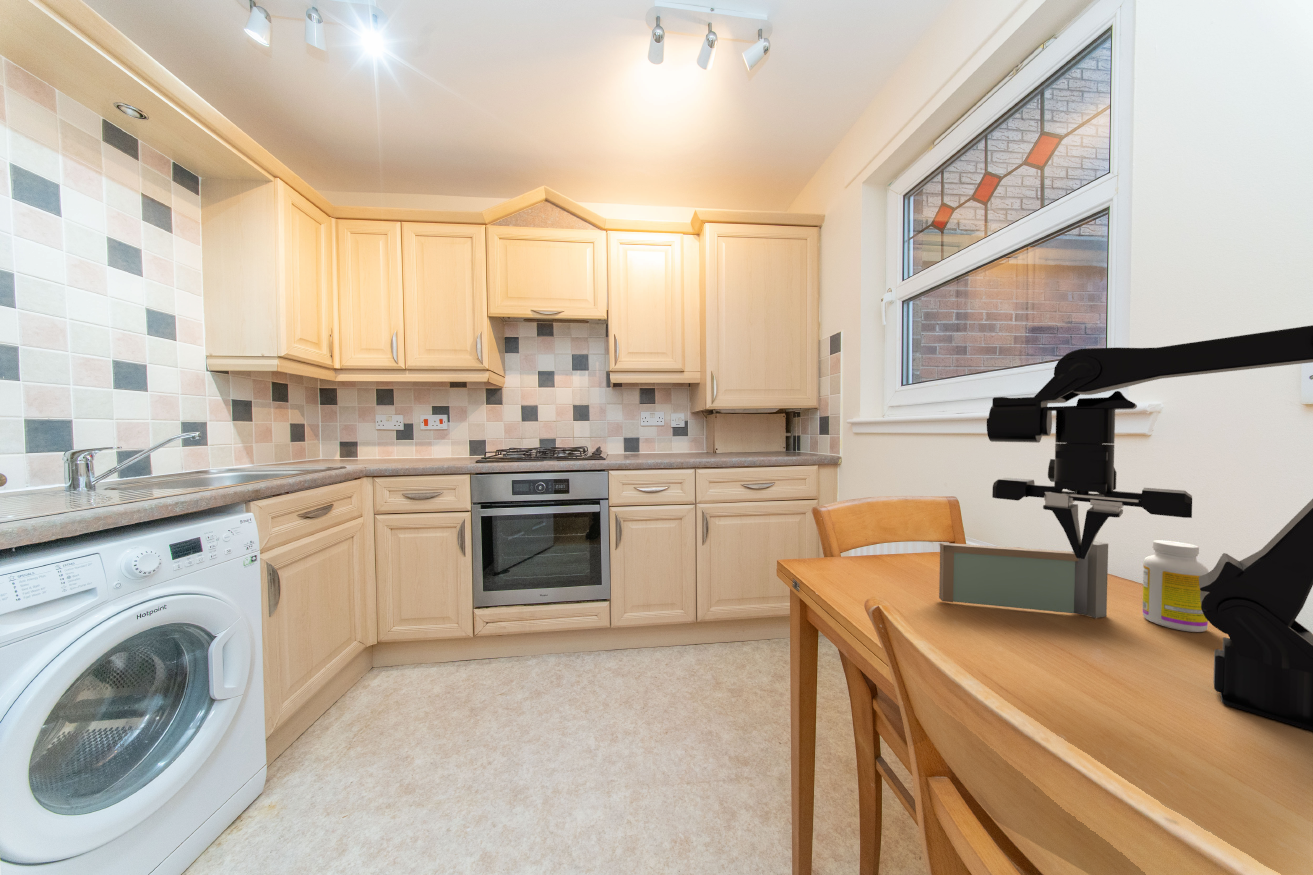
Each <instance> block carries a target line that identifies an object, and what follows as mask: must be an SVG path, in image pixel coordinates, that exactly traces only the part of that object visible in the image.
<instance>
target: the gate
mask: <svg viewBox="0 0 1313 875" xmlns="http://www.w3.org/2000/svg"><path fill="white" fill-rule="evenodd" d="M938 584H939V585H938V586H939V587H938V590H939V591H938V598H939V599H940V601H941V602H944V603H945V602H946V603H947V602H948V603H963V604H972V605H980V606H981V605H983V606H994V607H1005V608H1014V609H1015V608H1016V609H1023V610H1024V609H1025V610H1035V611H1044V612H1045V611H1047V612H1056V613H1066V614H1077V615H1083V616H1086V615H1087V585H1088V554H1087V556H1086V558H1085V559H1081V558H1080V559H1079V558H1076V556H1075V554H1074V551H1073V550H1072V551H1070V550H1055V549H1040V548H1039V549H1037V548H1026V547H1011V546H1008V547H1007V546H998V545H997V546H996V545H981V544H966V543H951V542H949V543H948V542H940V543H939V583H938Z"/></svg>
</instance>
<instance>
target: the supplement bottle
mask: <svg viewBox="0 0 1313 875" xmlns="http://www.w3.org/2000/svg"><path fill="white" fill-rule="evenodd" d="M1152 549H1153V551H1154V554H1152V555H1148V556H1146V557H1145V558H1144V559H1143V562H1142V563H1143V566H1142V568H1143V570H1142V572H1143V573H1142V576H1143V577H1142V616H1143V618H1144V619H1146V620H1147V621H1150V622H1151V623H1154V624H1156V625H1159V626H1163V627H1165V628H1168V629H1169V628H1170V629H1172V630H1178V631H1182V632H1192V633H1203V632H1206V630H1208V627H1209V626H1208V624H1209V621H1208V620H1207V619H1206V618H1205V616H1204V614H1203V612H1202V609H1201V600H1200V586H1199V576H1202V575H1205V574H1207V573H1209V572H1210V571H1209V569H1208V567H1207V566H1206V565H1205V564H1203V563H1201V562H1200V561H1198V560H1197V557H1198V555H1199V554H1200V547H1199V546H1198V545H1195V544H1192V543H1189V542H1188V543H1187V542H1181V541H1173V540H1164V539H1163V540H1162V539H1156V540H1153V541H1152Z"/></svg>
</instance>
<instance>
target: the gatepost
mask: <svg viewBox="0 0 1313 875" xmlns="http://www.w3.org/2000/svg"><path fill="white" fill-rule="evenodd" d="M1081 541H1082V539H1081ZM1108 563H1109V543H1107V542H1102V541H1095V540H1094V542H1093V544H1092V546H1091V548H1090V550H1089V552H1088V585H1087V615H1085V616H1087V617H1090V618H1093V619H1098V618H1105V617H1107V609H1108V605H1107V604H1108V575H1109V574H1108V573H1109V572H1108V571H1109V564H1108Z"/></svg>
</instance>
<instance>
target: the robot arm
mask: <svg viewBox="0 0 1313 875" xmlns="http://www.w3.org/2000/svg"><path fill="white" fill-rule="evenodd" d="M1310 363H1313V324H1312V325H1305V326H1299V327H1298V326H1297V327H1292V328H1283V329H1278V330H1269V331H1263V332H1256V333H1251V334H1250V333H1249V334H1241V335H1235V336H1228V337H1221V338H1215V339H1208V340H1202V341H1195V342H1187V343H1179V344H1171V345H1167V346H1165V345H1164V346H1160V347H1159V346H1157V347H1090V348H1089V347H1088V348H1079V349H1075V350H1072V351H1069V352H1067V353H1066V354H1065V355H1063V356H1062V357H1061V358H1060V359H1059V360H1058V361H1057V363H1056V364H1055V366H1054V370H1053V376H1052V377H1051V379H1050V380H1049V381H1048V382H1047V383H1045V385H1044V386H1043V387H1042V388H1041V389H1040V390H1039V391H1038V392H1037V393H1036V394H1035V395H1034V396H1030V397H1029V396H1025V397H1006V396H998V397H995V396H994V397H993V398H992V402H991V403H992V405H991V407H990V408H989V413H988V417H987V418H986V433H987V437H988V440H989V442H991V443H993V442H995V443H1031V444H1033V443H1036V444H1037V443H1038V444H1039V443H1040V442H1041V440H1042V438H1043V437H1049V436H1051V433H1052V427H1053V426H1052V425H1053V412H1055V436H1054V437H1055V438H1054V441H1055V444H1054V445H1055V446H1054V458H1050V459H1049V463H1048V467H1047V469H1048V470H1047V478H1048V480H1049V481H1050V482H1051V483H1053V485H1045V484H1036V483H1035V480H1034V479H1028V478H1013V477H1003V478H998V479H997V480H995V481H994V482H993V484H992V495H991V496H992V498H993V499H999V500H1010V501H1018V502H1019V501H1020V500H1022V499H1023V498H1028V497H1030V498H1041V499H1044V502H1045V503H1044V504H1043V506H1042V508H1043V510H1045V511H1051V512H1052V513H1053V514H1054V516H1055V518H1056V520H1057V521H1058V523H1059V524H1060V526H1061V528H1062V529H1063V531H1064V533H1065V536H1066V537H1067V539H1068V542H1069V545H1070V546H1071V550H1072V551H1074V554H1075V556H1076V558H1079V559H1080V558H1081V559H1085V558H1086V556H1087V554H1088V552H1089V550H1090V548H1091V546H1092V544H1093V542H1094V541H1095V540H1096V537H1097V535H1098V534H1099V531H1100V530H1101V529H1102V528H1103V526H1104V524H1105V523H1106V522H1107V520H1108V519H1109V518H1120V517H1121V516H1122V515H1123V512H1124V509H1123V508H1124V506H1126V507H1136V508H1142V509H1143V510H1145V511H1146V512H1147V513H1148V514H1150V515H1155V516H1157V515H1158V516H1165V517H1176V518H1183V519H1186V518H1187V519H1192V518H1193V495H1192V494H1190V493H1189V492H1188V491H1186V490H1182V489H1169V488H1167V489H1166V488H1156V487H1154V488H1151V487H1143V489H1142V490H1141V492H1133V491H1132V492H1131V491H1120V490H1119V491H1118V490H1117V476H1118V475H1117V470H1116V468H1115V441H1116V440H1115V439H1116V438H1115V434H1116V428H1115V427H1116V411H1121V410H1122V411H1123V410H1125V411H1126V410H1127V411H1128V410H1129V411H1130V410H1136V409H1137V408H1138V404H1137V403H1135V402H1133V401H1131V400H1129V399H1128V398H1126V396H1125V395H1124V393H1122V392H1121V391H1119V389H1123V388H1127V387H1128V388H1129V387H1131V386H1136V385H1140V384H1143V383H1146V382H1147V383H1148V382H1151V381H1158V380H1160V379H1161V380H1162V379H1169V378H1178V377H1187V376H1188V377H1189V376H1196V375H1197V376H1198V375H1207V374H1218V373H1227V372H1235V371H1245V370H1254V369H1263V368H1264V369H1265V368H1273V367H1275V368H1276V367H1282V366H1283V367H1284V366H1293V365H1302V364H1310ZM1115 390H1116V391H1115ZM1111 391H1114V392H1113V393H1112V394H1111V395H1110V396H1108V397H1107V396H1106V397H1084V398H1082V397H1081V398H1077V399H1078V400H1077V402H1076V405H1067V406H1066V405H1064V406H1060V405H1059V406H1048V404H1065V403H1068V402H1069V401H1071V400H1073V399H1075V398H1076V397H1079V396H1092V395H1098V394H1101V393H1106V392H1107V393H1108V392H1111ZM1066 490H1067V491H1066ZM1075 502H1084V503H1089V505H1090V506H1091V507H1090V508H1088V509H1087V510H1086V514H1085V518H1084V525H1083V531H1082V534H1081V530H1080V529H1081V528H1080V522H1079V521H1080V520H1079V504H1075ZM1081 535H1082V537H1081ZM1081 540H1082V541H1081ZM1199 586H1200V600H1201V609H1202V612H1203V614H1204V616H1205V618H1206V619H1207V620H1208V623H1209V624H1210V625H1211V626H1213V627H1214V628H1216V629H1217V630H1219V631H1220V632H1222V633H1223V634H1226V635H1228V637H1229V638H1228V637H1223V638H1222V649H1219V648H1217V649H1214V650H1213V652H1214V653H1213V679H1212V680H1213V689H1214V691H1216V692H1217V693H1219V694H1220V699H1221V703H1222V704H1223V705H1226V706H1229V707H1232V708H1235V709H1239V710H1242V711H1245V712H1248V713H1253V714H1255V715H1259V716H1262V717H1266V718H1267V719H1268V718H1269V719H1272V720H1275V721H1279V722H1283V723H1284V724H1285V723H1286V724H1289V725H1292V726H1295V727H1297V728H1298V727H1299V728H1302V729H1305V730H1308V731H1311V732H1313V632H1311V631H1310V630H1309V629H1307V627H1305V626H1303V625H1302V624H1301V623H1299V622H1298V621H1297V620H1296V619H1297V617H1298V616H1299V615H1300V613H1301V611H1302V610H1303V609H1304V608H1303V607H1304V606H1305V604H1306V602H1307V599H1308V597H1309V595H1310V592H1311V590H1312V588H1313V498H1312V499H1310V501H1309V502H1308V503H1307V504H1305V506H1304V507H1303V508H1302V509H1300V511H1298V513H1296V515H1295V516H1293V517H1292V519H1291V520H1290V521H1288V522H1287V524H1286V525H1284V526H1283V528H1281V529H1280V530H1279V532H1277V533H1276V534H1275V535H1274V536H1273V537H1272V538H1271V539H1270V540H1269V541H1268V542H1267V543H1266V544H1265V545H1264V546H1263V547H1262V548H1261V549H1260V550H1258V551H1257V552H1255V553H1252V554H1251V555H1249V556H1246V557H1245V558H1243V559H1241V560H1238V559H1236V558H1234V557H1233V556H1232V555H1229V554H1228V553H1225V552H1223V553H1222V554H1221V556H1220V557H1219V559H1218V561H1217V563H1216V564H1215V565H1214V567H1213V569H1211V570H1210V571H1209V573H1207V574H1205V575H1202V576H1199Z"/></svg>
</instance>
